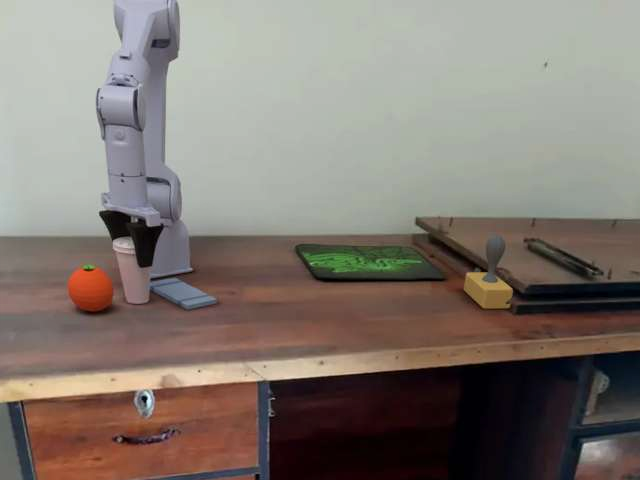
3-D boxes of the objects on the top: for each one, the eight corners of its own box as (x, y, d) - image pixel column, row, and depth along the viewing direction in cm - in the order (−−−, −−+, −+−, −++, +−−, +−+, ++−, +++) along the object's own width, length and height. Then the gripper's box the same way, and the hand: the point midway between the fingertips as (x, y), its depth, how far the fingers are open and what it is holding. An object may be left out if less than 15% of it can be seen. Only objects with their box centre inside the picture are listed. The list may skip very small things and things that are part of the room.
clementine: (72, 300, 128) (66, 257, 124) (116, 300, 130) (112, 258, 126) (69, 318, 122) (63, 273, 118) (115, 317, 123) (110, 273, 120)
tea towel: (175, 281, 140) (174, 277, 140) (217, 303, 133) (217, 298, 132) (145, 287, 136) (145, 282, 136) (187, 309, 129) (186, 305, 129)
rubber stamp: (510, 308, 144) (523, 243, 137) (482, 309, 142) (493, 243, 136) (489, 290, 152) (500, 228, 145) (462, 290, 150) (472, 227, 144)
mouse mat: (412, 248, 172) (413, 243, 171) (449, 280, 154) (450, 275, 154) (292, 248, 163) (292, 243, 163) (316, 282, 146) (317, 276, 146)
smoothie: (164, 298, 132) (159, 213, 125) (143, 309, 127) (136, 222, 120) (132, 290, 134) (124, 207, 126) (109, 301, 129) (100, 215, 121)
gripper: (79, 165, 121) (89, 252, 129) (128, 185, 113) (135, 277, 121) (120, 162, 126) (128, 246, 133) (170, 181, 117) (175, 270, 125)
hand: (134, 260), depth 127 cm, fingers closed on smoothie, 6 cm apart
